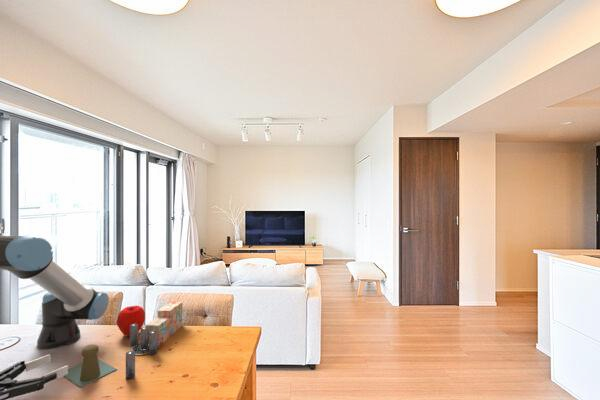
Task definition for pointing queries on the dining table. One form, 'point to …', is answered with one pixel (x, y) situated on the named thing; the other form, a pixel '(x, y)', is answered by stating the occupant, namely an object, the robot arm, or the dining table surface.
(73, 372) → the mat
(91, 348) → the cork
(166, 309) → the stack of blocks
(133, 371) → the spacer posts
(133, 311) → the apple
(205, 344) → the dining table surface
